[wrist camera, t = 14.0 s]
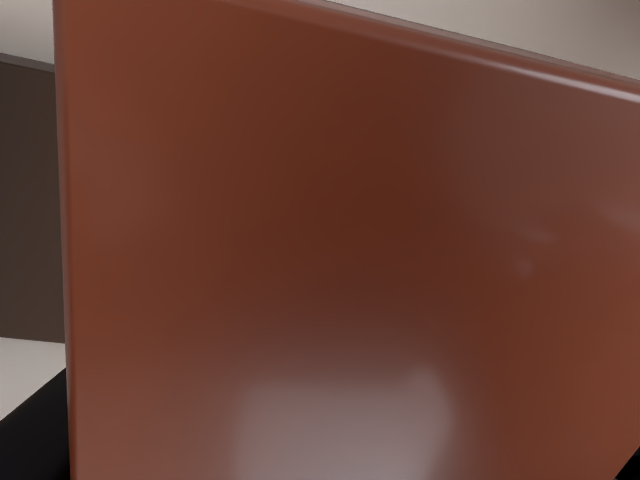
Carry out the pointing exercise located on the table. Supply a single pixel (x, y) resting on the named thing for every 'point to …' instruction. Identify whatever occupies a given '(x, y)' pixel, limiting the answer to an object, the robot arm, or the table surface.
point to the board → (29, 203)
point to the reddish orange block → (341, 248)
